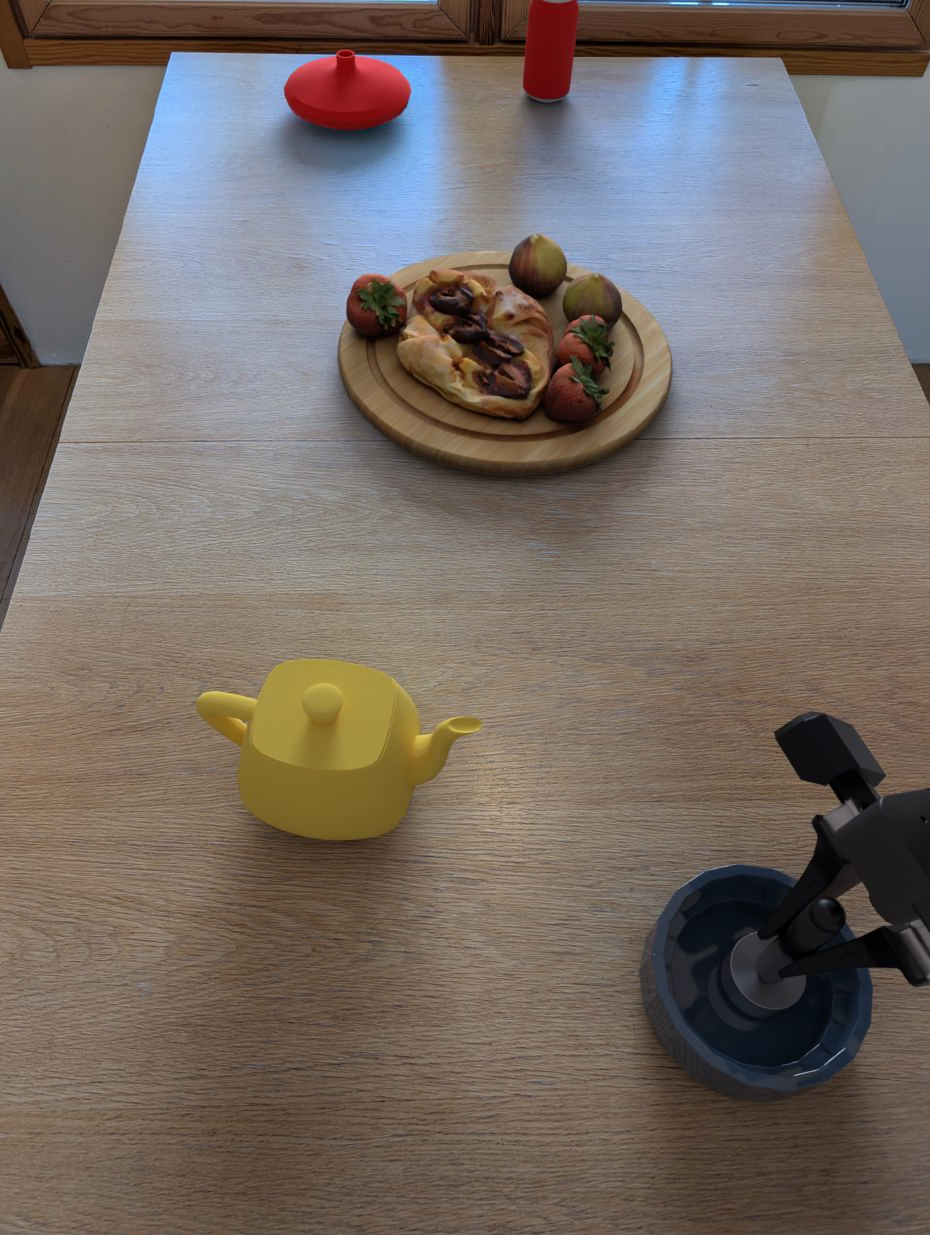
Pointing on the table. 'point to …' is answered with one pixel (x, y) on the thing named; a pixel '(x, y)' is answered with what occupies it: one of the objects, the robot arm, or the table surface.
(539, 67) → the beverage can
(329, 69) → the red vase
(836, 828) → the robot arm
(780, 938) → the coffee tamper
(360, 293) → the wooden plate
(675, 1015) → the bowl
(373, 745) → the teapot
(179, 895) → the table surface
